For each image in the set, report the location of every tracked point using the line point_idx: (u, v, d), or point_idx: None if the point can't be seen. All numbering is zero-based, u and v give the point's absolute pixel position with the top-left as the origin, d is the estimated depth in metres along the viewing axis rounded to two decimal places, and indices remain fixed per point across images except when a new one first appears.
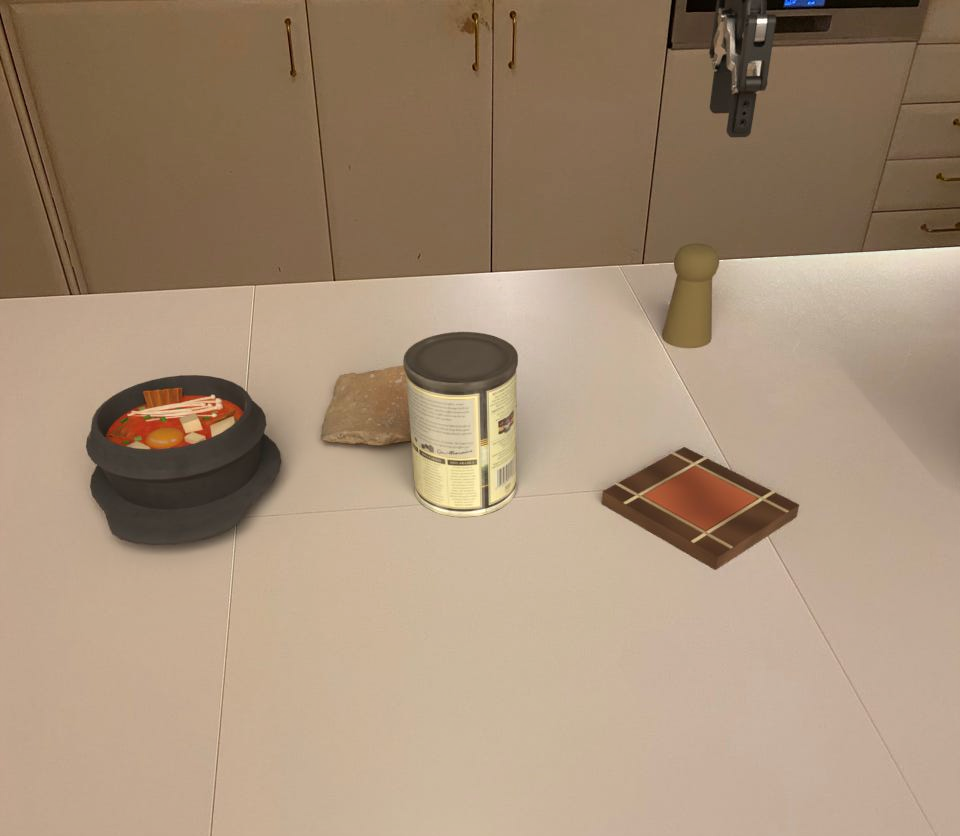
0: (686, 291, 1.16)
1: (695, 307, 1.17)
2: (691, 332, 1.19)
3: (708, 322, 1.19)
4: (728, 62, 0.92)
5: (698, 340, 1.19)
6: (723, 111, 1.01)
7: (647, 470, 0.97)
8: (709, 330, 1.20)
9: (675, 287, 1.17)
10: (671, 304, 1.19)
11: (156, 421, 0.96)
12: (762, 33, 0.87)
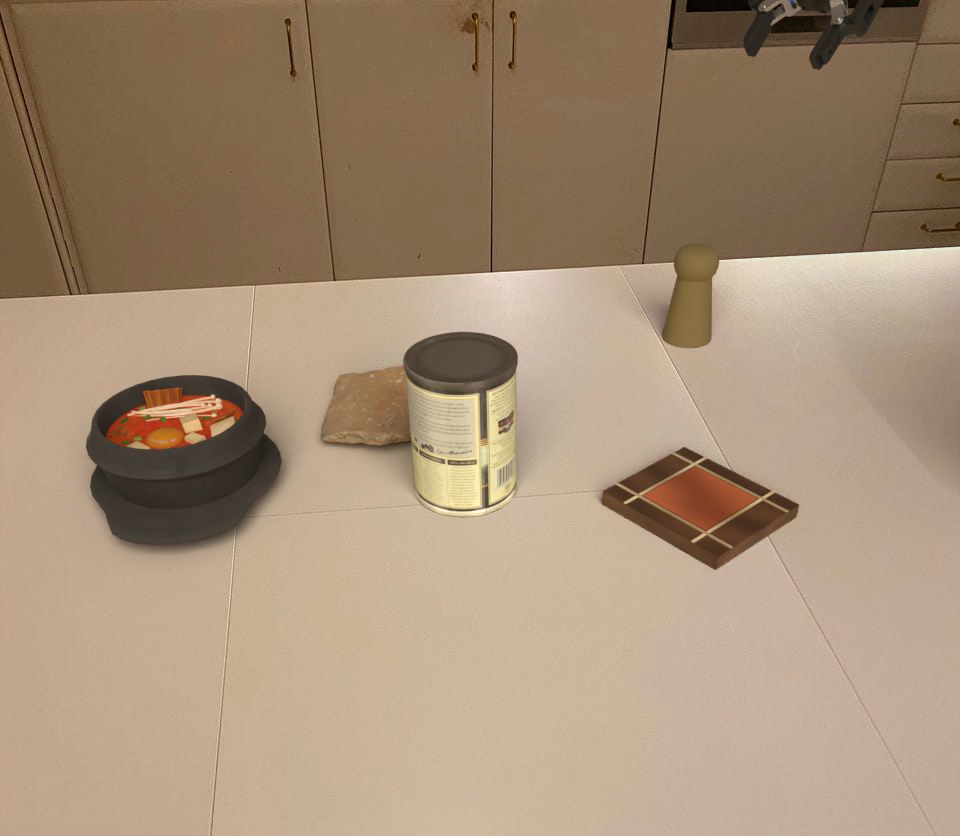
0: (686, 291, 1.16)
1: (695, 307, 1.17)
2: (691, 332, 1.19)
3: (708, 322, 1.19)
4: None
5: (698, 340, 1.19)
6: (752, 52, 1.10)
7: (647, 470, 0.97)
8: (709, 330, 1.20)
9: (675, 287, 1.17)
10: (671, 304, 1.19)
11: (156, 421, 0.96)
12: None
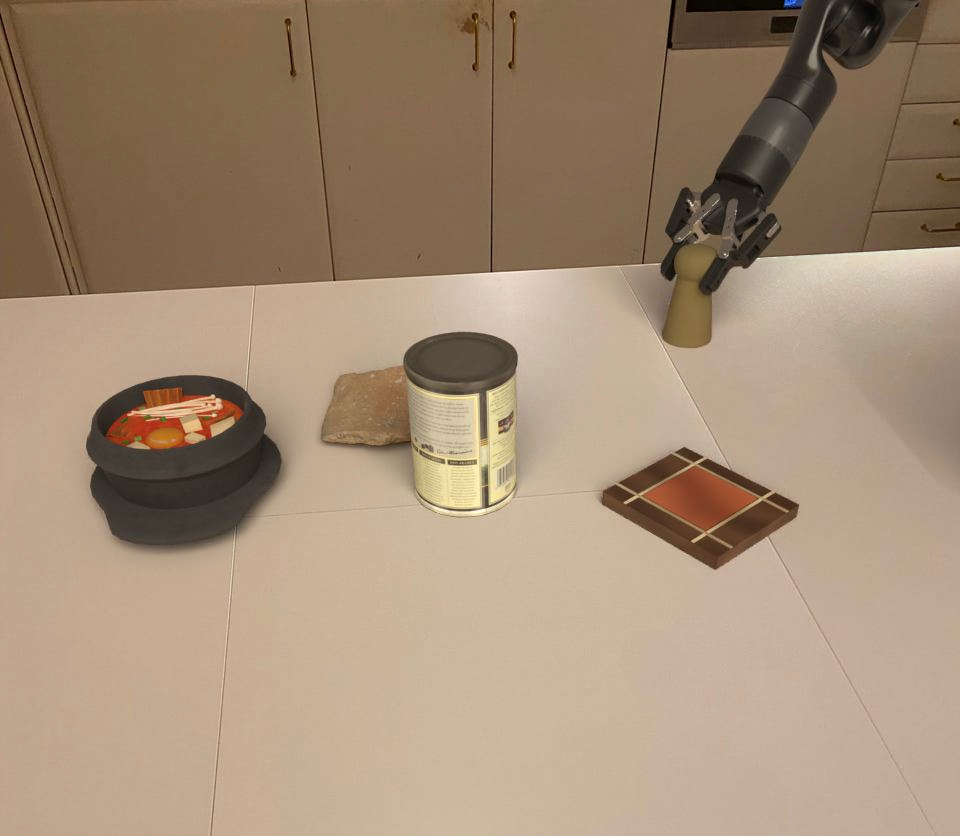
0: (686, 291, 1.16)
1: (695, 307, 1.17)
2: (691, 332, 1.19)
3: (708, 322, 1.19)
4: (726, 233, 1.12)
5: (698, 340, 1.19)
6: (668, 278, 1.18)
7: (647, 470, 0.97)
8: (709, 330, 1.20)
9: (675, 287, 1.17)
10: (671, 304, 1.19)
11: (156, 421, 0.96)
12: (772, 232, 1.11)
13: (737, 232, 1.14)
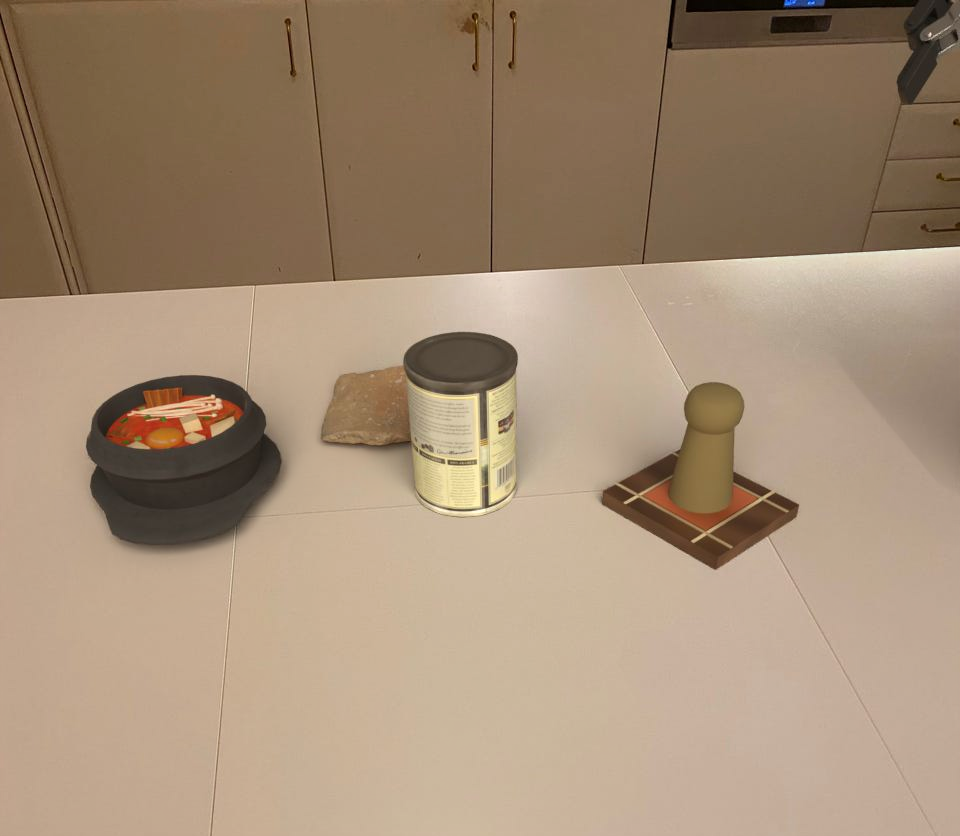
0: (700, 445, 0.88)
1: (712, 464, 0.88)
2: (706, 495, 0.90)
3: (729, 481, 0.90)
4: None
5: (716, 503, 0.91)
6: (909, 98, 0.77)
7: (647, 470, 0.97)
8: (730, 490, 0.91)
9: (685, 437, 0.89)
10: (680, 458, 0.90)
11: (156, 421, 0.96)
12: None
13: None
